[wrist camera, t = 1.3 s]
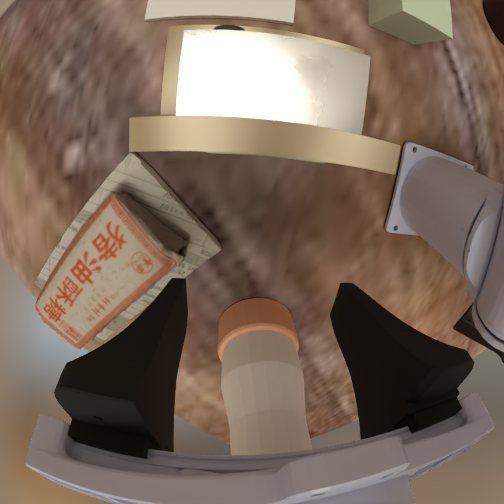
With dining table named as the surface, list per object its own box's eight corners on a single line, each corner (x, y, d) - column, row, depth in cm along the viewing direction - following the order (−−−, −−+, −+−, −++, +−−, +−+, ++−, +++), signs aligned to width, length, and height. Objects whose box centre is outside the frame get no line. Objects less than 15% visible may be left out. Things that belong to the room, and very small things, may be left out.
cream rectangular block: (336, 59, 14) (370, 46, 10) (328, 127, 16) (361, 135, 12) (197, 42, 13) (185, 19, 9) (191, 114, 15) (175, 115, 11)
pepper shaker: (202, 321, 25) (194, 530, 9) (265, 283, 24) (310, 524, 7) (247, 358, 28) (264, 530, 12) (305, 328, 27) (356, 512, 10)
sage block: (412, 5, 12) (448, -7, 7) (413, 45, 14) (452, 38, 9) (368, -15, 11) (399, -35, 7) (367, 25, 13) (402, 10, 9)
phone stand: (465, 333, 32) (500, 385, 22) (452, 327, 31) (491, 386, 20) (498, 291, 29) (540, 339, 18) (489, 280, 27) (537, 333, 17)
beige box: (357, 52, 15) (411, 36, 8) (344, 155, 19) (393, 180, 12) (172, 30, 13) (144, -5, 7) (163, 140, 17) (129, 158, 11)
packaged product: (92, 367, 22) (16, 304, 18) (105, 334, 26) (39, 276, 22) (222, 274, 18) (110, 159, 13) (223, 240, 22) (136, 147, 18)
